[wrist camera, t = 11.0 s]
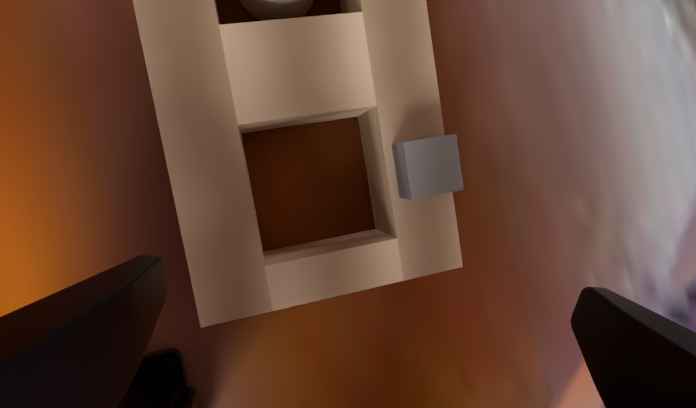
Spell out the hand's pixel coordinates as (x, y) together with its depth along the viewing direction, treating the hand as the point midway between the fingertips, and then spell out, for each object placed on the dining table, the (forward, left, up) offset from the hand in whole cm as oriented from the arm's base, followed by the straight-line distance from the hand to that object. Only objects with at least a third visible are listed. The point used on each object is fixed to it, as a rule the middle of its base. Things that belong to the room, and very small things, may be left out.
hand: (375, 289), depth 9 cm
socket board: (+1, +7, -13) cm, 15 cm away
